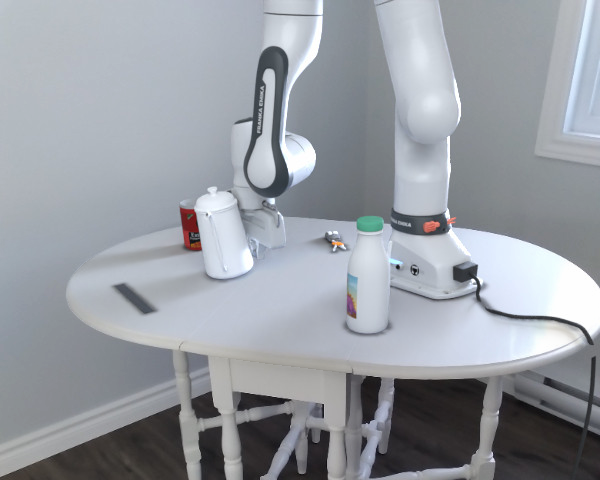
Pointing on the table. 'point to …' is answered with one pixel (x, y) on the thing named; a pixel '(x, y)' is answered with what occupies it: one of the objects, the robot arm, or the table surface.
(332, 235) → the key chain
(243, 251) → the coffeepot
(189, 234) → the canned food
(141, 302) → the tape line
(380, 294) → the milk bottle
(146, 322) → the table surface
